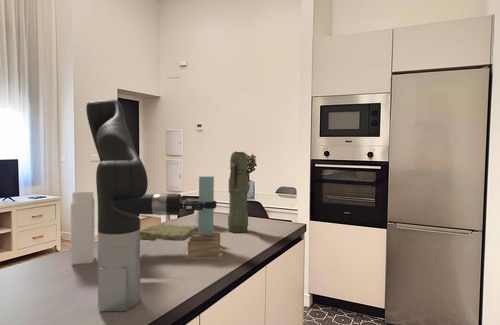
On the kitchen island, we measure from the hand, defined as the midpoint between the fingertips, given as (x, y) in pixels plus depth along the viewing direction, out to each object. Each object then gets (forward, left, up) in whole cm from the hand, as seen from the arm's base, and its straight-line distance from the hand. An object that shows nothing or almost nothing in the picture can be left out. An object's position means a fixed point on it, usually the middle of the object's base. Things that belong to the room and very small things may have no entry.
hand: (215, 204), depth 121 cm
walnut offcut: (-4, +3, -15) cm, 16 cm away
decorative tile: (+21, +20, -17) cm, 34 cm away
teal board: (0, +3, -12) cm, 12 cm away
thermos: (+29, -9, -17) cm, 34 cm away
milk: (-11, +41, -17) cm, 46 cm away
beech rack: (-4, +3, -16) cm, 17 cm away
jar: (+39, +7, -17) cm, 43 cm away
